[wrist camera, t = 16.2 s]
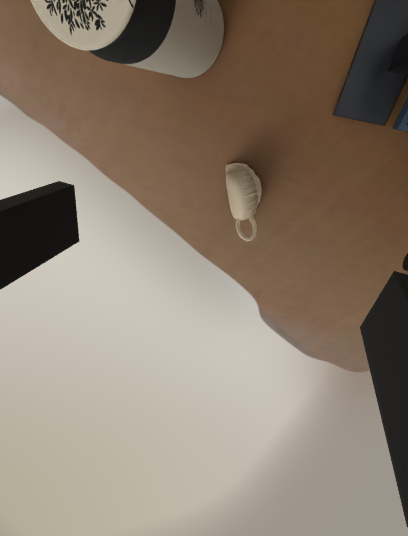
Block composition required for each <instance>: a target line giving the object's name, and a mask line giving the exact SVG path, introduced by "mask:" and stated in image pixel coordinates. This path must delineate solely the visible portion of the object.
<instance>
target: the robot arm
mask: <svg viewBox="0 0 408 536" xmlns="http://www.w3.org/2000/svg"><path fill="white" fill-rule="evenodd" d="M77 242H79V233H78V223H77V212H76V200H75V190H74V185H71V184H67V183H64V182H60V181H58V182H55V183H52V184H49V185H46V186H43V187H39V188H36V189H33V190H30V191H27V192H24V193H21V194H18V195H15V196H11V197H8V198H5V199H2V200H0V289H2V288H4V287H5V286H7V285H9V284H10V283H12V282H13V281H15V280H17V279H18V278H20V277H22V276H23V275H25V274H27V273H28V272H30V271H31V270H33V269H35V268H36V267H38V266H40V265H41V264H43V263H45V262H46V261H48V260H49V259H51V258H53V257H54V256H56V255H58V254H59V253H61V252H62V251H64V250H66V249H67V248H69V247H71V246H72V245H74V244H76V243H77ZM360 329H361V334H362V338H363V342H364V346H365V351H366V355H367V359H368V363H369V368H370V372H371V376H372V380H373V385H374V389H375V393H376V397H377V401H378V406H379V410H380V414H381V418H382V423H383V427H384V431H385V435H386V439H387V444H388V448H389V452H390V456H391V461H392V465H393V469H394V473H395V477H396V482H397V486H398V490H399V494H400V499H401V503H402V507H403V512H404V516H405V520H406V524H407V527H408V275H407V274H403V273H399V272H396V271H394V272H393V274H392V275H391V277H390V279H389V280H388V282H387V284H386V285H385V287H384V289H383V290H382V292H381V294H380V295H379V297H378V298H377V300H376V302H375V303H374V305H373V307H372V308H371V310H370V312H369V313H368V315H367V317H366V318H365V320H364V321H363V323H362V325H361V326H360Z"/></svg>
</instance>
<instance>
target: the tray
mask: <svg viewBox="0 0 408 536" xmlns="http://www.w3.org/2000/svg"><path fill="white" fill-rule="evenodd" d="M393 129H396V130H401V131H406V132H408V97H407V99H406V101H405V103H404V105H403V107H402V109H401V112H400V114H399V116H398V118H397V120H396V122H395V124H394V126H393Z"/></svg>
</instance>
